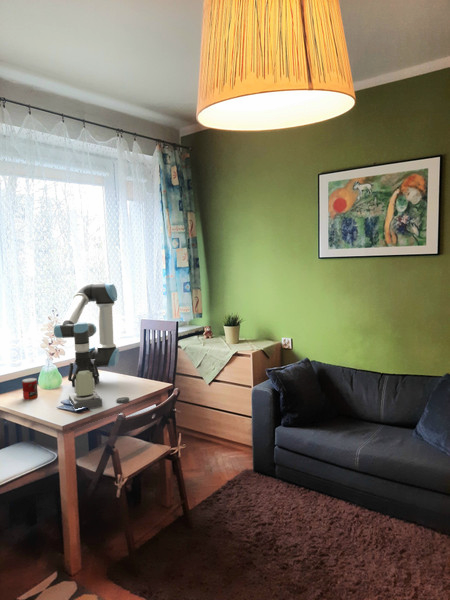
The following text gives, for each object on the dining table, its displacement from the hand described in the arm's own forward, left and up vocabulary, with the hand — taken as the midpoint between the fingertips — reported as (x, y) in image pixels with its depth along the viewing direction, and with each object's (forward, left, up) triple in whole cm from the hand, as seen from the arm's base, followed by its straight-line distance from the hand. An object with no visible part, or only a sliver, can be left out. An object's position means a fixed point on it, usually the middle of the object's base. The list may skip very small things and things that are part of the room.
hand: (84, 391), depth 236 cm
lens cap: (+7, +19, -7) cm, 22 cm away
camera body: (0, 0, -7) cm, 7 cm away
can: (0, 0, -1) cm, 1 cm away
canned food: (-30, -25, -7) cm, 40 cm away
